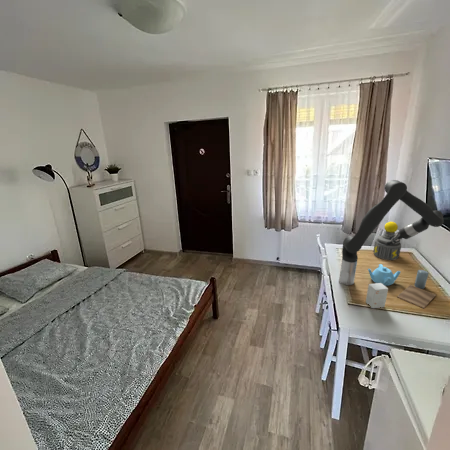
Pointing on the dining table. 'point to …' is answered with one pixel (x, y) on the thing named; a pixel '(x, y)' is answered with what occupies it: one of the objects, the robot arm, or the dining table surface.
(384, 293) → the small box
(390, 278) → the teapot
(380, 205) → the robot arm
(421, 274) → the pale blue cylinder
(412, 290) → the placemat
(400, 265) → the dining table surface
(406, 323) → the dining table surface
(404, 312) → the dining table surface
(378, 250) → the toy tesla coil
